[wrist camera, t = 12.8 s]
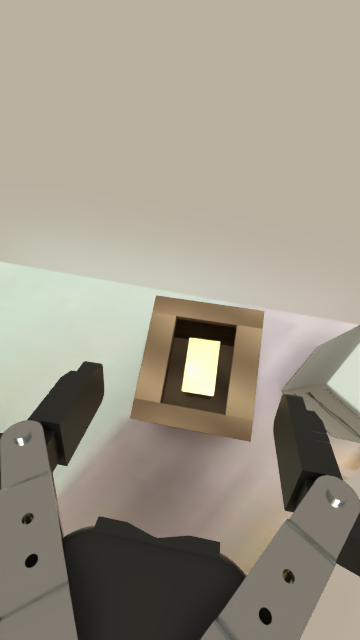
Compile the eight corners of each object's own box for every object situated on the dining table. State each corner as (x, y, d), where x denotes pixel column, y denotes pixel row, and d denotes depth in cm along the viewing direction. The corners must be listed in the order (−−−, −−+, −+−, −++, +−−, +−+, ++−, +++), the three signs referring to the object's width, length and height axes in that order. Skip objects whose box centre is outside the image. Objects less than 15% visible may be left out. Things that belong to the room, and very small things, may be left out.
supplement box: (278, 391, 34) (322, 381, 22) (319, 344, 35) (381, 310, 23) (333, 440, 32) (414, 459, 20) (374, 388, 33) (473, 377, 21)
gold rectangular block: (210, 399, 33) (214, 396, 24) (186, 395, 34) (180, 390, 24) (215, 360, 35) (221, 341, 25) (191, 356, 35) (188, 337, 25)
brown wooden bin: (233, 430, 33) (250, 441, 21) (153, 415, 34) (130, 418, 22) (243, 342, 36) (264, 311, 24) (169, 330, 37) (156, 295, 25)
